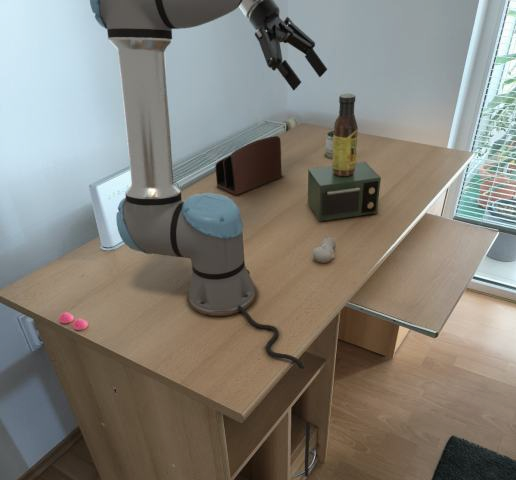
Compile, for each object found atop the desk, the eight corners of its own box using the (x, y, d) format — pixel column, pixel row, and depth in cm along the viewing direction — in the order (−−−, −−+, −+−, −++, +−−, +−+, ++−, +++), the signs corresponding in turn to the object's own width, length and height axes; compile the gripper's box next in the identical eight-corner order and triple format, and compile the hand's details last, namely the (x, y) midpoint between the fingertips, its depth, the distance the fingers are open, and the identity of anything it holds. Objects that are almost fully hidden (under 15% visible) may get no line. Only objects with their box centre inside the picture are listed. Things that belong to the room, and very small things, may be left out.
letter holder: (282, 176, 168) (281, 133, 159) (236, 196, 158) (232, 150, 149) (262, 169, 174) (260, 126, 165) (216, 187, 164) (211, 143, 155)
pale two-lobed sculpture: (324, 270, 126) (307, 260, 127) (339, 255, 131) (322, 245, 132) (330, 257, 123) (312, 247, 124) (344, 242, 127) (327, 232, 128)
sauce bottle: (354, 178, 138) (359, 99, 125) (330, 177, 139) (333, 99, 126) (355, 168, 142) (360, 92, 129) (333, 168, 143) (336, 92, 131)
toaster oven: (380, 218, 142) (384, 180, 135) (321, 227, 140) (322, 189, 133) (362, 197, 153) (365, 161, 146) (307, 205, 151) (308, 168, 144)
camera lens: (325, 152, 182) (326, 129, 177) (343, 152, 182) (344, 129, 176) (325, 158, 178) (326, 135, 173) (343, 158, 177) (344, 135, 172)
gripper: (238, 3, 117) (295, 81, 120) (293, -12, 132) (342, 58, 135) (222, 29, 123) (276, 102, 126) (277, 12, 138) (324, 78, 141)
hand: (311, 79), depth 130 cm, fingers open, 13 cm apart
